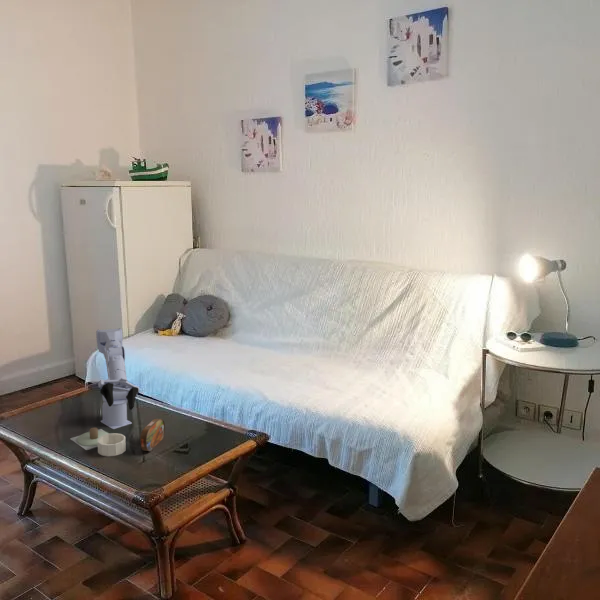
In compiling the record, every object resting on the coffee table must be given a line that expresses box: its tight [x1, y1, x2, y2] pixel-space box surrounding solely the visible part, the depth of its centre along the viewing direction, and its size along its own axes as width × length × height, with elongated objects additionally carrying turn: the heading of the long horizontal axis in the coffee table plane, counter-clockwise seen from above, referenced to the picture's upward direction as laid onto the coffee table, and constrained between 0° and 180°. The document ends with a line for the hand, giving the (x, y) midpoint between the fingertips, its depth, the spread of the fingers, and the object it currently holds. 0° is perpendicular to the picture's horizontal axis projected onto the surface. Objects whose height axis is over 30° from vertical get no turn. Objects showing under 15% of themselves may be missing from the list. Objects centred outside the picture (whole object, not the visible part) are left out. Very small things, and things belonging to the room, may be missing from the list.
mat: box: [69, 428, 106, 451], centre depth 209 cm, size 12×12×1 cm
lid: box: [77, 427, 110, 446], centre depth 209 cm, size 11×11×4 cm
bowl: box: [97, 432, 127, 457], centre depth 201 cm, size 9×9×4 cm
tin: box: [139, 418, 166, 452], centre depth 206 cm, size 15×3×8 cm, turn 168°
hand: (121, 406), depth 202 cm, fingers open, 7 cm apart
